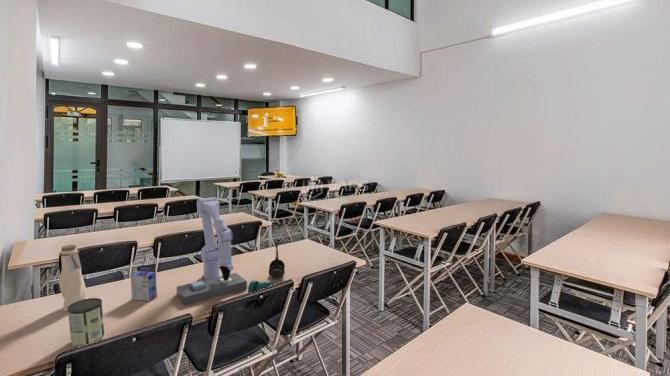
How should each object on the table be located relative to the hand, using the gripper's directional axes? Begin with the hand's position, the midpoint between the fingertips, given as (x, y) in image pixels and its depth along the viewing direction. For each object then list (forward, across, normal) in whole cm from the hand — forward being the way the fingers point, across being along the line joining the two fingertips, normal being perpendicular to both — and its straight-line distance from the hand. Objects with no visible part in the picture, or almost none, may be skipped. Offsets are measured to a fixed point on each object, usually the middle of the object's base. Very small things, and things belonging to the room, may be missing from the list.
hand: (226, 279), depth 172 cm
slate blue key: (+2, 0, -14) cm, 14 cm away
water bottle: (+5, -20, -61) cm, 64 cm away
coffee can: (+5, +14, -58) cm, 60 cm away
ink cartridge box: (+5, -12, -35) cm, 37 cm away
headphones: (+5, +2, +28) cm, 28 cm away
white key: (+3, 0, 0) cm, 3 cm away
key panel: (+4, 0, -7) cm, 8 cm away
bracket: (+5, +16, +13) cm, 21 cm away
